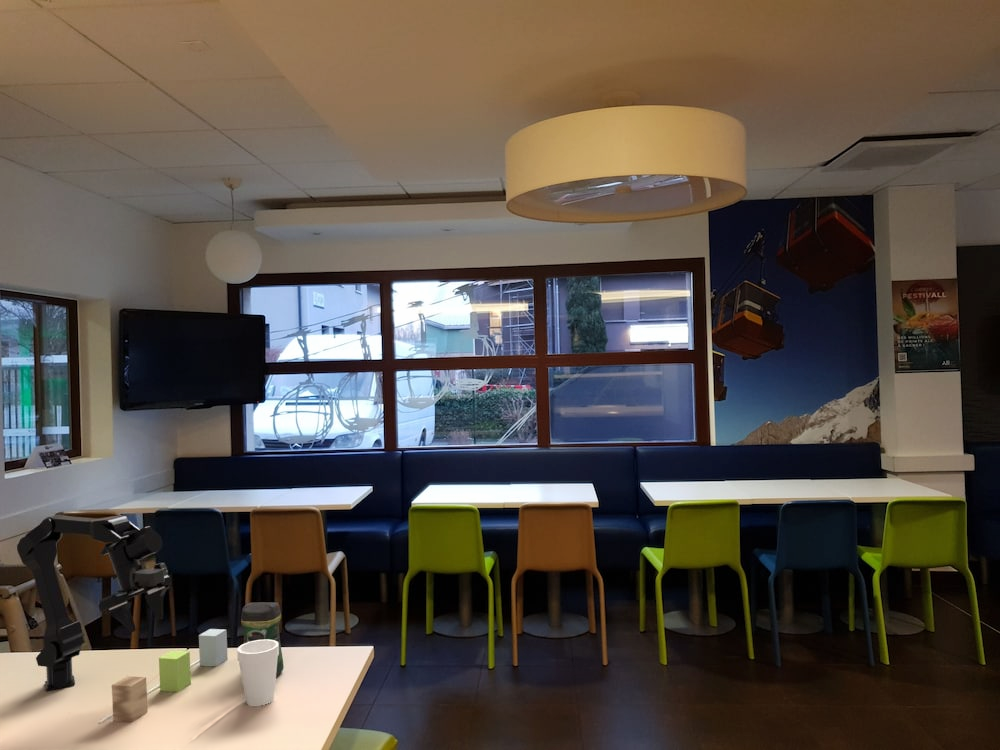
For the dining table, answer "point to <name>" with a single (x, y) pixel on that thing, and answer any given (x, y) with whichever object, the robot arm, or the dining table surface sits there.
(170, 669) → the green block
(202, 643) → the blue-grey block
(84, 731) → the dining table surface
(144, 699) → the brown wooden block
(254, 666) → the foam cup
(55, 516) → the robot arm
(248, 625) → the coffee jar
